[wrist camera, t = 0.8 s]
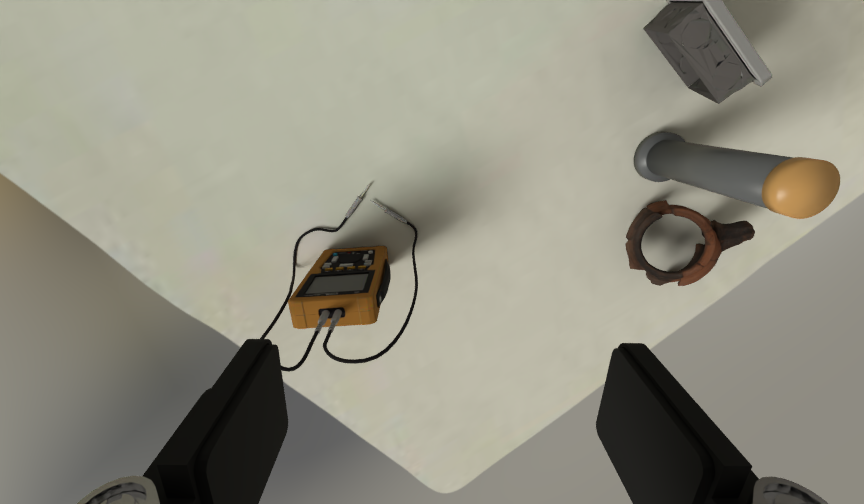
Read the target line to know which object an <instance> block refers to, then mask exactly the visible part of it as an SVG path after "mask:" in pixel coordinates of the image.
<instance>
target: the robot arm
mask: <svg viewBox="0 0 864 504" xmlns="http://www.w3.org/2000/svg"><path fill="white" fill-rule="evenodd" d="M287 428H288V416H287V409H286V401H285V394H284V387H283V379H282V372H281V364H280V357H279V350H278V346H277V345H272V342H271V341H270V340H269V339H247V340H246V341H245V342H244V344H243V345H242V346H241V348H240V349H239V351H238V352H237V354H236V355H235V356H234V358H233V359H232V361H231V362H230V363H229V365H228V366H227V367H226V369H225V370H224V372H223V373H222V374H221V376H220V377H219V379H218V380H217V381H216V383H215V384H214V385H213V387H212V388H210V389H208V390H206V391H205V392H204V393H203V394H202V396H201V397H200V398H199V400H198V401H197V402H196V404H195V405H194V407H193V408H192V410H191V411H190V412H189V413H188V415H187V416H186V418H185V419H184V420H183V422H182V423H181V424H180V426H179V427H178V428H177V430H176V431H175V432H174V434H173V435H172V437H171V438H170V439H169V441H168V442H167V443H166V445H165V446H164V447H163V449H162V450H161V452H160V453H159V454H158V456H157V457H156V458H155V460H154V461H153V462H152V464H151V465H150V466H149V468H148V469H147V471H146V472H145V473H144V475H143V476H128V477H123V478H119V479H116V480H114V481H111V482H108V483H106V484H104V485H102V486H100V487H99V488H97V489H95V490H93V491H92V492H91V493H89V494H88V495H87V496H85V497H84V498H83V499H82V500H80V501H79V502H78V503H77V504H258V503H259V501H260V498H261V496H262V493H263V490H264V488H265V486H266V483H267V481H268V478H269V476H270V473H271V471H272V468H273V466H274V463H275V461H276V458H277V456H278V453H279V451H280V448H281V446H282V443H283V441H284V438H285V436H286V433H287ZM596 429H597V433H598V436H599V438H600V440H601V441H602V444H603V446H604V448H605V450H606V452H607V453H608V456H609V458H610V460H611V462H612V463H613V465H614V467H615V469H616V471H617V473H618V475H619V477H620V479H621V481H622V483H623V485H624V487H625V489H626V491H627V493H628V495H629V497H630V499H631V501H632V502H633V504H828V503H827V502H826V501H825V500H823V499H822V498H821V497H819V496H818V495H816V494H815V493H814V492H812V491H810V490H809V489H807V488H805V487H803V486H801V485H799V484H797V483H794V482H792V481H789V480H786V479H782V478H777V477H763V478H761V479H758V477H757V476H756V475H755V474H754V473H753V472H752V471H751V468H752V465H751V464H750V463H749V462H748V461H747V460H746V458H745V457H744V456H743V455H742V454H741V453H740V452H739V451H738V450H737V448H736V447H735V446H734V445H733V444H732V443H731V442H730V440H729V439H728V438H727V437H726V436H725V435H724V434H723V432H722V431H721V430H720V429H719V428H718V427H717V426H716V425H715V423H714V422H713V421H712V420H711V419H710V418H709V417H708V416H707V414H706V413H705V412H704V411H703V410H702V409H701V407H700V406H699V405H698V404H697V403H696V402H695V401H694V400H693V398H692V397H691V396H690V395H689V394H688V393H687V392H686V390H685V389H684V388H683V387H682V386H681V385H680V384H679V382H678V381H677V380H676V379H675V378H674V377H673V376H672V375H671V374H670V372H669V371H668V370H667V369H666V368H665V367H664V365H663V364H662V363H661V362H660V361H659V360H658V359H657V358H656V356H655V355H654V354H653V353H652V352H651V351H650V350H649V348H648V347H647V346H646V345H644V344H642V343H622V344H620V345H619V347H618V348H616V349H614V350H613V352H612V356H611V360H610V364H609V369H608V373H607V378H606V382H605V387H604V391H603V395H602V399H601V404H600V408H599V412H598V417H597V421H596Z"/></svg>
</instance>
